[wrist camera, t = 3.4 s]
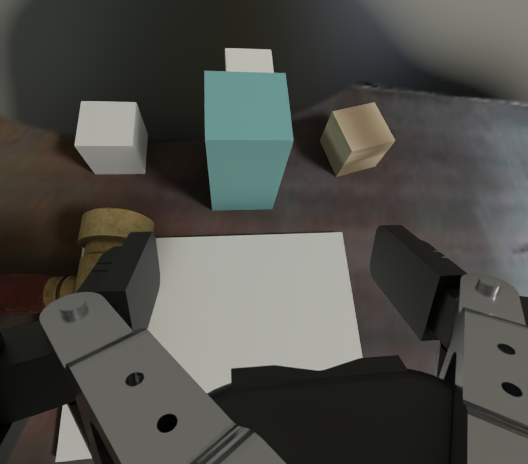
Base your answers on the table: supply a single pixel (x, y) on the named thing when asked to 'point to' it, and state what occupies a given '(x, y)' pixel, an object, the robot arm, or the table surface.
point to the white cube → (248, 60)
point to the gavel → (95, 243)
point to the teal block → (246, 137)
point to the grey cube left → (112, 137)
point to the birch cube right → (356, 138)
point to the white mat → (246, 309)
